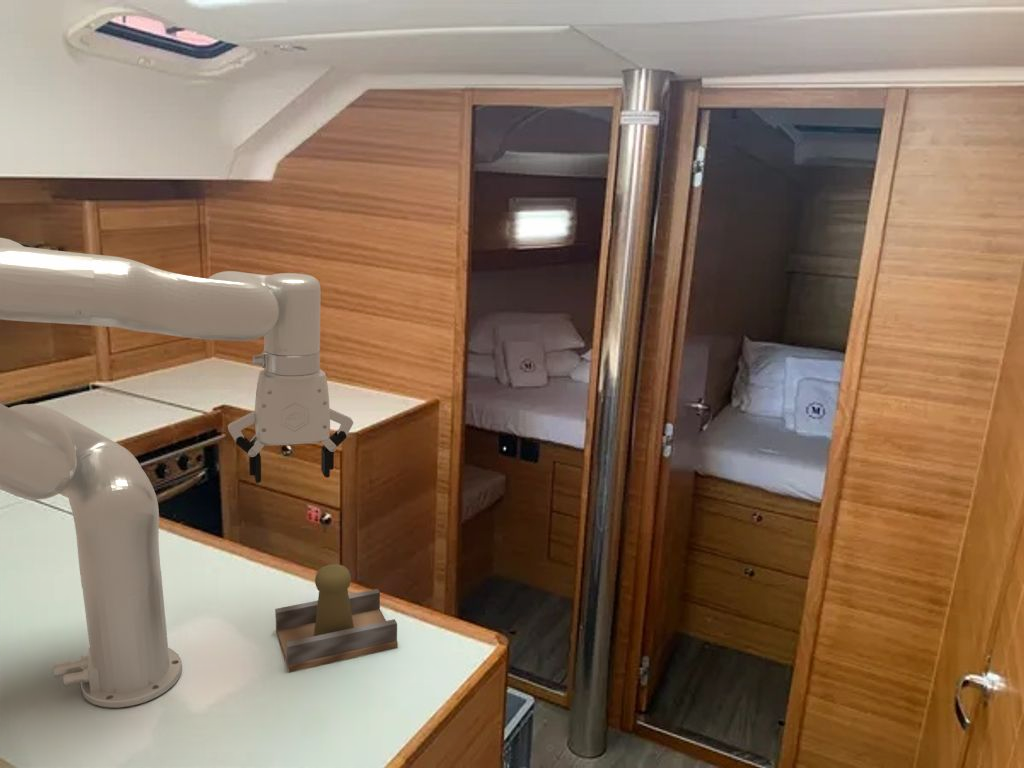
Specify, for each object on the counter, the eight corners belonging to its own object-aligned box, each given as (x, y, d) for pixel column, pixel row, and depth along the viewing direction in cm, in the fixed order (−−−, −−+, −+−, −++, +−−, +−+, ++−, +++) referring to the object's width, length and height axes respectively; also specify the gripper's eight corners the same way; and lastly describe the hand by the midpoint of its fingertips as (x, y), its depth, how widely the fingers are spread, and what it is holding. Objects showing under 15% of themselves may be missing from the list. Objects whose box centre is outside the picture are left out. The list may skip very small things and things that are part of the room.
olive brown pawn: (337, 617, 125) (336, 554, 122) (362, 633, 122) (362, 568, 118) (305, 634, 121) (303, 569, 118) (330, 650, 117) (329, 584, 114)
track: (289, 672, 113) (287, 648, 112) (275, 630, 123) (274, 607, 122) (397, 647, 120) (397, 624, 119) (377, 609, 130) (377, 587, 128)
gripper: (228, 371, 105) (230, 492, 110) (359, 368, 112) (356, 481, 116) (225, 357, 112) (227, 471, 116) (348, 355, 118) (346, 463, 123)
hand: (291, 476), depth 116 cm, fingers open, 9 cm apart
